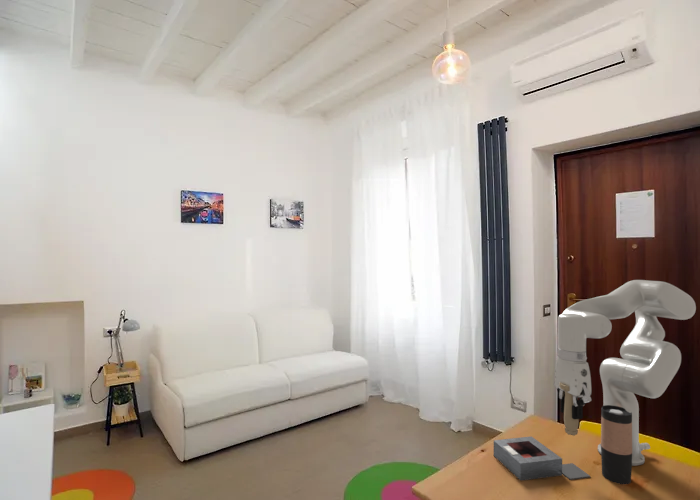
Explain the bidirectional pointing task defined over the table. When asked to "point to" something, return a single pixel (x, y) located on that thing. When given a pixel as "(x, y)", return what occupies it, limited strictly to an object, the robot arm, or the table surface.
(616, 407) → the travel mug
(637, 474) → the table surface
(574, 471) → the mat
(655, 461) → the table surface
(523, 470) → the grey shallow box
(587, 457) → the table surface
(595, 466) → the table surface
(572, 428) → the handle
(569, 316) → the robot arm
